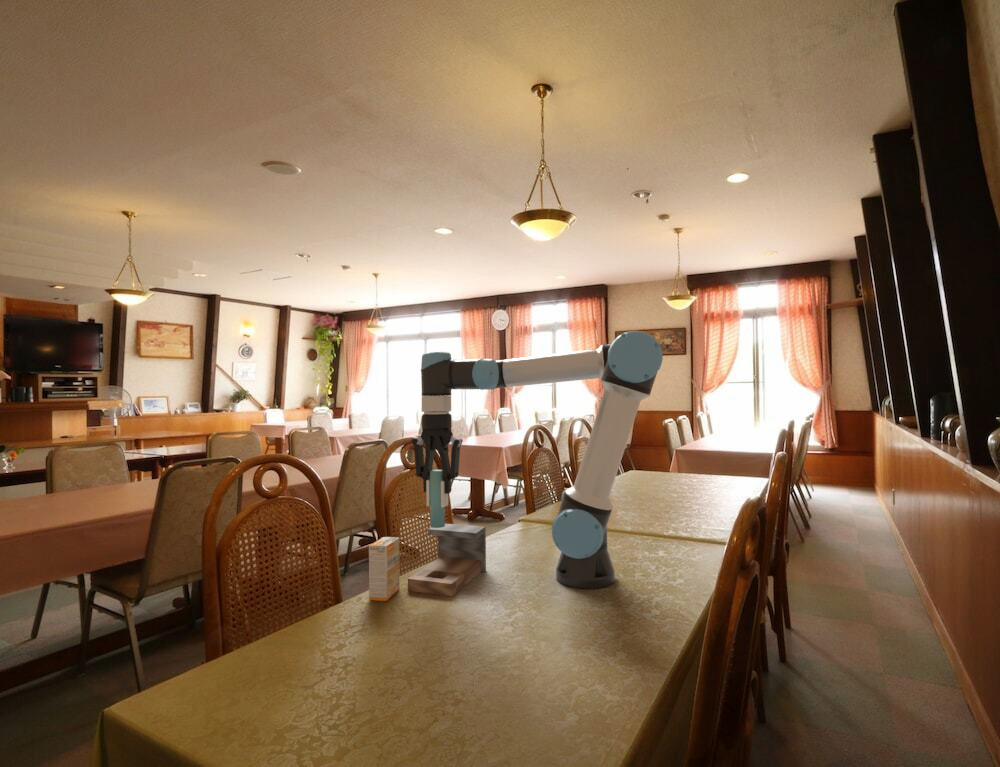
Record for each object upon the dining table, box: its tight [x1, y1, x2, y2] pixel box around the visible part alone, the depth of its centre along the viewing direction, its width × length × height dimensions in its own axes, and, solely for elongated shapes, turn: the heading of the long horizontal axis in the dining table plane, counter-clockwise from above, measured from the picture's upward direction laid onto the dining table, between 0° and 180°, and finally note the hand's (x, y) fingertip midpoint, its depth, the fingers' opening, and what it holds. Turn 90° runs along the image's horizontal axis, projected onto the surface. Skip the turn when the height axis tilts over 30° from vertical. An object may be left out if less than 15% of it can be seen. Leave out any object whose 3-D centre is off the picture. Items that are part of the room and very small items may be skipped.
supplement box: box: [368, 536, 400, 602], centre depth 133 cm, size 8×5×13 cm, turn 168°
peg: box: [429, 469, 446, 528], centre depth 138 cm, size 4×4×14 cm
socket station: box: [407, 523, 487, 597], centre depth 143 cm, size 14×20×12 cm
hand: (437, 505), depth 138 cm, fingers closed on peg, 3 cm apart
